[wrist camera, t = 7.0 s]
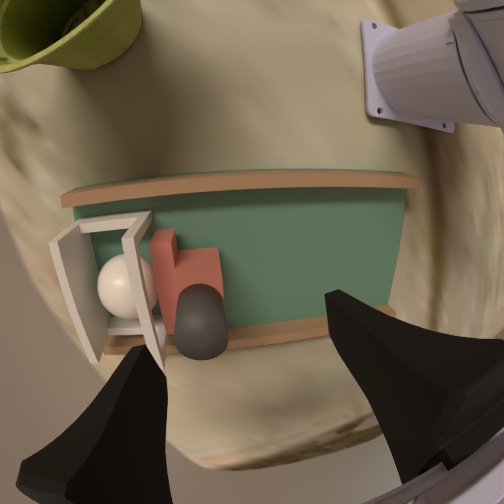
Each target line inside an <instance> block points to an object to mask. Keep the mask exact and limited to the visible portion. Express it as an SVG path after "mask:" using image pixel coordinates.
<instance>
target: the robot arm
mask: <svg viewBox="0 0 504 504" xmlns="http://www.w3.org/2000/svg"><path fill="white" fill-rule="evenodd" d="M454 3H455V5H456V6H457V8H458V9H459V10H456V11H452V12H449V13H445V14H442V15H439V16H436V17H432V18H429V19H426V20H423V21H421V22H418V23H415V24H412V25H409V26H407V27H404V28H402V29H397V28H394V27H391V26H388V25H385V24H382V23H379V22H376V21H373V20H369V19H364V20H362V21H361V32H362V42H363V54H364V68H365V88H366V112H367V114H368V115H369V116H371V117H376V118H382V119H388V120H394V121H399V122H404V123H409V124H414V125H419V126H423V127H427V128H432V129H436V130H440V131H444V132H447V133H453V132H454V129H455V122H457V123H468V124H477V125H485V126H493V127H500V128H501V129H502V131H503V133H504V0H454ZM371 24H372V25H373V26H374V28H375V29H374V28H373V27H372V25H371ZM378 108H379V110H380V114H378V112H377V109H378ZM324 296H325V304H326V312H327V321H328V330H329V335H330V337H331V339H332V341H333V343H334V345H335V347H336V349H337V351H338V353H339V355H340V357H341V358H342V360H343V361H344V363H345V364H346V366H347V368H348V369H349V371H350V372H351V374H352V375H353V377H354V378H355V380H356V381H357V383H358V385H359V386H360V388H361V389H362V391H363V392H364V394H365V396H366V397H367V399H368V401H369V403H370V405H371V407H372V409H373V411H374V414H375V416H376V418H377V420H378V422H379V425H380V427H381V429H382V431H383V434H384V436H385V438H386V441H387V443H388V445H389V448H390V451H391V453H392V456H393V459H394V462H395V464H396V467H397V470H398V473H399V476H400V479H401V483H402V485H401V486H400V487H397V488H395V489H393V490H391V491H389V492H387V493H385V494H383V495H381V496H379V497H376V498H374V499H372V500H370V501H367V502H365V503H362V504H407V503H409V502H411V501H413V500H414V499H415V500H414V501H413V503H412V504H496V503H497V502H499V501H500V500H501V499H502V497H504V340H503V339H477V338H468V337H460V336H454V335H448V334H444V333H439V332H435V331H431V330H428V329H424V328H421V327H418V326H415V325H412V324H409V323H406V322H404V321H401V320H399V319H397V318H394V317H392V316H390V315H387V314H385V313H383V312H381V311H379V310H377V309H375V308H373V307H371V306H369V305H367V304H365V303H363V302H362V301H360V300H358V299H356V298H354V297H352V296H351V295H349V294H347V293H345V292H343V291H342V290H340V289H337V290H334V291H332V292H329V293H326V294H324ZM167 406H168V392H167V379H166V376H165V375H164V373H163V372H162V370H161V369H160V367H159V365H158V364H157V362H156V361H155V359H154V357H153V356H152V354H151V353H150V351H149V349H148V348H147V346H146V344H143V345H139V346H134V347H132V348H131V349H130V350H129V352H128V353H127V354H126V356H125V357H124V358H123V360H122V361H121V363H120V364H119V366H118V367H117V369H116V370H115V371H114V373H113V374H112V376H111V377H110V379H109V380H108V381H107V383H106V384H105V386H104V387H103V388H102V390H101V391H100V392H99V393H98V395H97V396H96V398H95V399H94V400H93V402H92V403H91V404H90V405H89V407H87V409H86V410H85V411H84V412H83V413H82V414H81V415H80V416H79V418H78V419H77V420H76V421H75V422H74V423H73V424H72V425H70V426H69V427H68V428H67V429H66V430H65V431H64V432H63V433H62V434H61V435H60V436H58V437H57V438H56V439H55V440H54V441H52V442H51V443H50V444H48V445H47V446H46V447H44V448H43V449H41V450H40V451H38V452H37V453H35V454H33V455H32V456H30V457H28V458H27V459H25V460H23V461H22V463H21V466H20V470H19V474H18V478H17V481H16V487H17V488H18V489H19V491H21V492H22V493H23V494H25V495H26V496H28V497H29V498H31V499H32V500H34V501H36V502H37V503H39V504H173V502H172V497H171V493H170V487H169V480H168V474H167V465H166V454H165V442H166V423H167Z"/></svg>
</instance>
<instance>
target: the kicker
mask: <svg viewBox="0 0 504 504" xmlns="http://www.w3.org/2000/svg"><path fill="white" fill-rule="evenodd" d="M149 247H150V254H151V260H152V266H153V271H154V277H155V282H156V288H157V293H158V298H159V303H160V307H161V312H162V317H163V321H164V326H165V330H166V334H167V335H174V337H173V340H174V345H175V347H176V348H177V350H178V351H179V352H180V353H181V354H182V355H184V356H186V357H188V358H190V359H194V360H209V359H212V358H215V357H217V356H219V355H220V354H222V353H223V352H224V350H225V349H226V347H227V345H228V341H229V338H228V331H227V325H226V318H225V306H224V294H223V281H222V272H221V265H220V258H219V251H218V247H211V248H199V249H186V250H178V249H177V240H176V232H175V228H171V229H160V230H155V232H154V235H153V237H152V239H151V241H150V243H149Z"/></svg>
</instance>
